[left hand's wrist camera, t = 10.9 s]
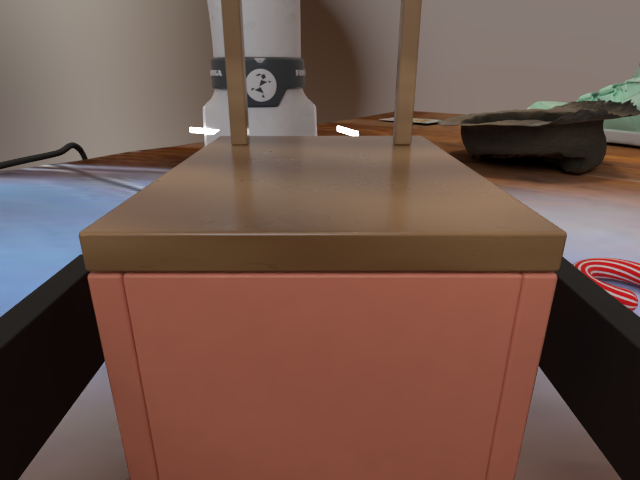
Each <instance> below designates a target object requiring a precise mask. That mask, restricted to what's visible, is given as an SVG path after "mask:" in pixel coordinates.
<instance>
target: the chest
mask: <svg viewBox="0 0 640 480" xmlns="http://www.w3.org/2000/svg"><path fill="white" fill-rule="evenodd" d="M88 282H89V287H90V292H91V297H92V301H93V306H94V311H95V315H96V320H97V325H98V330H99V334H100V339H101V344H102V349H103V353H104V358H105V363H106V367H107V372H108V377H109V382H110V386H111V391H112V396H113V401H114V405H115V410H116V415H117V419H118V424H119V429H120V434H121V438H122V443H123V448H124V453H125V457H126V462H127V467H128V471H129V476H130V480H514V477H515V473H516V468H517V463H518V459H519V454H520V450H521V445H522V440H523V436H524V431H525V426H526V422H527V417H528V412H529V408H530V403H531V399H532V394H533V389H534V385H535V380H536V375H537V371H538V366H539V362H540V357H541V352H542V348H543V343H544V338H545V334H546V329H547V324H548V320H549V315H550V311H551V306H552V301H553V297H554V292H555V287H556V283H557V275H556V274H555V273H554V272H553V271H133V272H91V273H90V274H89V275H88Z"/></svg>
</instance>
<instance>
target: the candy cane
mask: <svg viewBox="0 0 640 480" xmlns="http://www.w3.org/2000/svg"><path fill="white" fill-rule="evenodd" d="M573 265H574V266H575V267H576V268H577V269H579V270H580V271H581V272H583V273H584V274H585V275H586V276H588V277H589V278H590V279H591V280H593V281H594V282H595V283H597V284H598V285H599V286H600V287H602V288H603V289H604V290H606V291H607V292H608V293H609V294H611V295H612V296H613V297H614V298H616V299H617V300H618V301H620V302H621V303H622V304H623V305H625V306H626V307H627V308H628V309H630V310H631V311H633V310H635V309H636V307H637V306H638V299H637V296H636V295H635V294H634V293H633V292H632V291H630V290H628V289H625V288H621V287H617V286H613V285H610V284H607V283H605V282H603V281H600V280H598V279H613V280H619V281H624V282H628V283H631V284H635V285H638V286H640V264H639V263H636V262H631V261H626V260H621V259H613V258H590V259H584V260H581V261H578V262H576V263H575V264H573Z"/></svg>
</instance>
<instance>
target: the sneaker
mask: <svg viewBox="0 0 640 480" xmlns="http://www.w3.org/2000/svg"><path fill="white" fill-rule="evenodd" d="M588 100H590V101H598V100H605V101H606V102H607V101H609V100H611V101H612V102H622V103H624V102H626V101H629V100H631V102H632V103H633V102H634V103H633V106H634V105H637V110H640V65H639V66H638V68H637V70H636V72H635V73H634V75H633V78H632V79H630V80H627V81H625V82H624V84H623V83H617V84H613V85H610V86H607V87H605V88H603V89H600V90H599V92H593V93H588V94H585V95H583V96H580V97H579V99H578V100H577V101H576V102H579V101H588ZM606 102H605V103H606ZM565 104H568V103H563V102H548V101H539V102H536V103H534V104H532V105H531V106H530V107H528V108H527V109H551V108H553V107H555V106H561V105H565ZM603 129H604V134H605V136H606V142H609V143H618V144H626V145H633V146H639V147H640V114H639V115H637V116H629V117H622V118H616V119H607V120H604V123H603Z"/></svg>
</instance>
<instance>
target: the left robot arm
mask: <svg viewBox="0 0 640 480" xmlns="http://www.w3.org/2000/svg"><path fill="white" fill-rule="evenodd" d="M71 148H74V149H76V150H77V151H78V152H79V154H80V155H81V158H82V160H85V159H88V158H87V156H86V153H85V152H84V150H83V149H82V147H81V146H80V145H78V144H76V143H68V144H66V145H65V146H64V147H62V148H61V149H59V150H56V151H52V152H48V153H43V154H38V155H33V156H28V157H23V158H18V159H14V160H9V161H4V162H0V169H3V168H7V167H12V166H16V165H20V164H25V163H29V162H34V161H38V160H43V159H48V158H52V157H56V156H60V155H63V154H64V153H66V152H67V151H69V150H70V149H71ZM553 272H554V273H555V274H556V275H557V283H556V287H555V292H554V297H553V301H552V306H551V311H550V315H549V320H548V324H547V329H546V334H545V338H544V343H543V348H542V352H541V357H540V362H539V367H540V368H541V370H542V371H543V372H544V374H545V375H546V376H547V378H548V379H549V380H550V382H551V383H552V385H553V386H554V387H555V389H556V390H557V391H558V393H559V394H560V396H561V397H562V398H563V400H564V401H565V402H566V404H567V405H568V406H569V408H570V409H571V411H572V412H573V413H574V415H575V416H576V417H577V419H578V420H579V422H580V423H581V424H582V426H583V427H584V428H585V430H586V431H587V432H588V434H589V435H590V437H591V438H592V439H593V441H594V442H595V443H596V445H597V446H598V447H599V449H600V450H601V452H602V453H603V454H604V456H605V457H606V458H607V460H608V461H609V463H610V464H611V465H612V467H613V468H614V469H615V471H616V472H617V473H618V475H619V476H620V478H621V479H622V480H640V317H639V316H637V315H636V314H635V313H634V312H632V311H631V310H630V309H628V308H627V307H626V306H625V305H623V304H622V303H621V302H620V301H618V300H617V299H616V298H614V297H613V296H612V295H611V294H609V293H608V292H607V291H606V290H604V289H603V288H602V287H600V286H599V285H598V284H597V283H595V282H594V281H593V280H591V279H590V278H589V277H588V276H586V275H585V274H584V273H583V272H581V271H580V270H579V269H577V268H576V267H575V266H574V265H572V264H571V263H570V262H569V261H567V260H566V259H565V258H563V257H562V260H561V265H560V269H559V270H558V271H553ZM90 273H91V272H89V271H87V270H86V268H85V263H84V258H83V255H79V256H78V257H77V258H75V259H74V260H73V261H72V262H70V263H69V264H68V265H66V266H65V267H64V268H63V269H61V270H60V271H59V272H57V273H56V274H55V275H54V276H52V277H51V278H50V279H49V280H47V281H46V282H45V283H43V284H42V285H41V286H40V287H38V288H37V289H36V290H35V291H33V292H32V293H31V294H29V295H28V296H27V297H26V298H24V299H23V300H22V301H20V302H19V303H18V304H17V305H15V306H14V307H13V308H12V309H10V310H9V311H8V312H6V313H5V314H4V315H3V316H1V317H0V480H18V479H19V478H20V476H21V475H22V473H23V472H24V471H25V469H26V468H27V467H28V465H29V464H30V463H31V461H32V460H33V458H34V457H35V456H36V454H37V453H38V452H39V450H40V449H41V448H42V446H43V445H44V443H45V442H46V441H47V439H48V438H49V437H50V435H51V434H52V432H53V431H54V430H55V428H56V427H57V426H58V424H59V423H60V422H61V420H62V419H63V417H64V416H65V415H66V413H67V412H68V411H69V409H70V408H71V406H72V405H73V404H74V402H75V401H76V400H77V398H78V397H79V396H80V394H81V393H82V391H83V390H84V389H85V387H86V386H87V385H88V383H89V382H90V381H91V379H92V378H93V376H94V375H95V374H96V372H97V371H98V370H99V368H100V367H101V365H102V364H103V363H104V361H105V358H104V353H103V349H102V344H101V339H100V334H99V330H98V325H97V320H96V315H95V311H94V306H93V301H92V297H91V292H90V287H89V282H88V275H89V274H90Z"/></svg>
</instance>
